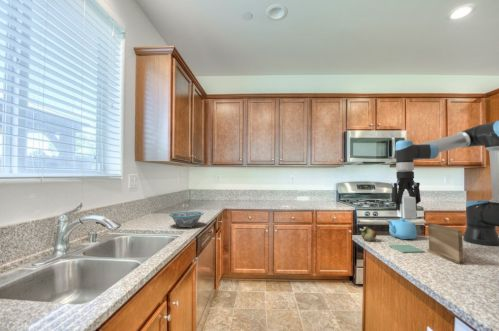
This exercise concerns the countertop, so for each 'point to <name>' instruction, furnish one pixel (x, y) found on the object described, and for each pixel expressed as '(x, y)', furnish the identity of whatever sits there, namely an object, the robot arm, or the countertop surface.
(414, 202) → the small box
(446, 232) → the screen
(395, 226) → the teapot
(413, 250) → the mat
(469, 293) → the countertop surface
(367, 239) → the onion
